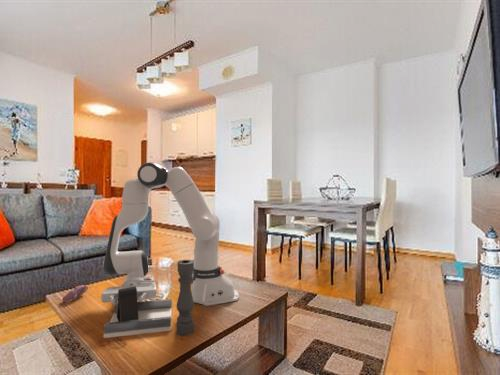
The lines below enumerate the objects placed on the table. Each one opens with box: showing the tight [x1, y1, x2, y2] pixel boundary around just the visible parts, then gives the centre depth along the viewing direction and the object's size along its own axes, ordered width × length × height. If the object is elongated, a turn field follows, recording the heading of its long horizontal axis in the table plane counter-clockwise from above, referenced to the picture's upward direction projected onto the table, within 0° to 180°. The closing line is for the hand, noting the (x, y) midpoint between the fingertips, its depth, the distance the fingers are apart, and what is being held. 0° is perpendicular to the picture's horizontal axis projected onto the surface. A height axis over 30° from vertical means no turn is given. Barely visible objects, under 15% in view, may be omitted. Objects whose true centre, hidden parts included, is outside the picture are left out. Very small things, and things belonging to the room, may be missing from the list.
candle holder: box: [175, 259, 195, 337], centre depth 102 cm, size 6×6×25 cm
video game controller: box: [61, 284, 89, 303], centre depth 128 cm, size 10×5×7 cm, turn 170°
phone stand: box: [117, 286, 139, 321], centre depth 107 cm, size 9×6×12 cm, turn 35°
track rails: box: [103, 298, 173, 335], centre depth 108 cm, size 22×17×3 cm
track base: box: [103, 308, 173, 339], centre depth 109 cm, size 22×19×1 cm
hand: (126, 301), depth 106 cm, fingers open, 8 cm apart
